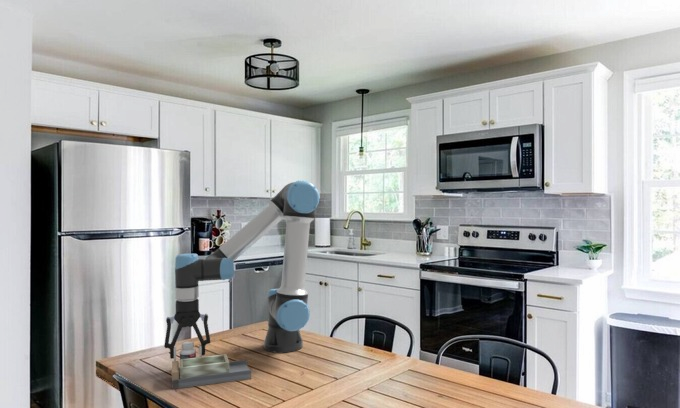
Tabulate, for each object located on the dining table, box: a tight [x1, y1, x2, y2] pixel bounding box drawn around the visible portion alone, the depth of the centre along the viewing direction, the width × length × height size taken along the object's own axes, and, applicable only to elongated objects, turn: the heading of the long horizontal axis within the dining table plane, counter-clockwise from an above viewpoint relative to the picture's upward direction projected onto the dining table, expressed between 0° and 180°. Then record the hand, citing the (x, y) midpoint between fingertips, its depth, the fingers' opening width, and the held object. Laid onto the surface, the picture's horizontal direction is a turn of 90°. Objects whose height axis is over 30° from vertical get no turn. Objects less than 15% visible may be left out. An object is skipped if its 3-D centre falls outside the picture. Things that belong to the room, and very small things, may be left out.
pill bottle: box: [179, 341, 197, 360], centre depth 160 cm, size 5×5×9 cm
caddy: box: [179, 353, 230, 379], centre depth 152 cm, size 15×9×4 cm, turn 109°
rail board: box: [171, 359, 252, 390], centre depth 152 cm, size 24×11×5 cm, turn 109°
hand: (187, 365), depth 160 cm, fingers open, 8 cm apart
